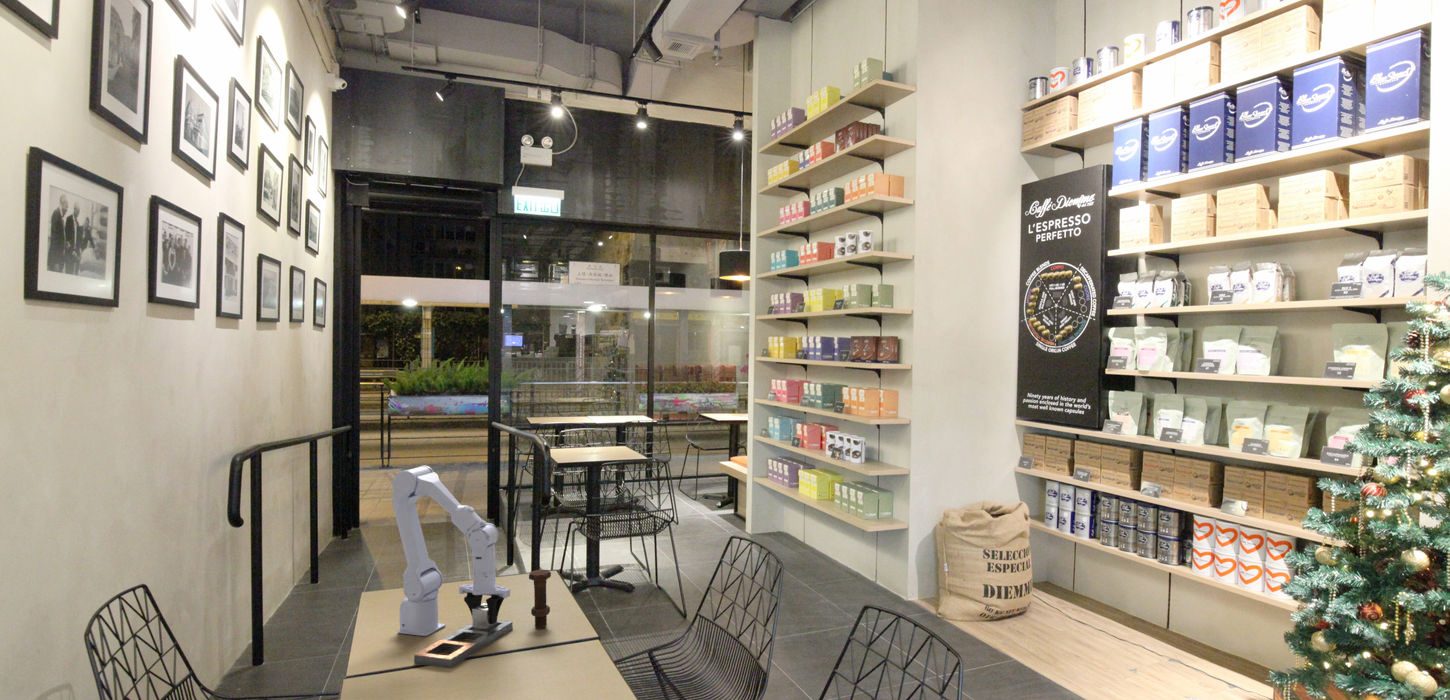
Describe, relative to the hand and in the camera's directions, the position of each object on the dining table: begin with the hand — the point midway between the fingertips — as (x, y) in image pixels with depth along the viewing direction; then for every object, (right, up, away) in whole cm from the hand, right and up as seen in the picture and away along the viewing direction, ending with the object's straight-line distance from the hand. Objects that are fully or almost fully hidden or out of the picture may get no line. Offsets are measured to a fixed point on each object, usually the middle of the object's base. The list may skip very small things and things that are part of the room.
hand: (485, 622), depth 195 cm
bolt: (+14, -3, +4) cm, 15 cm away
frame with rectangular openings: (-2, -3, -8) cm, 9 cm away
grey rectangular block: (0, -3, 0) cm, 3 cm away
